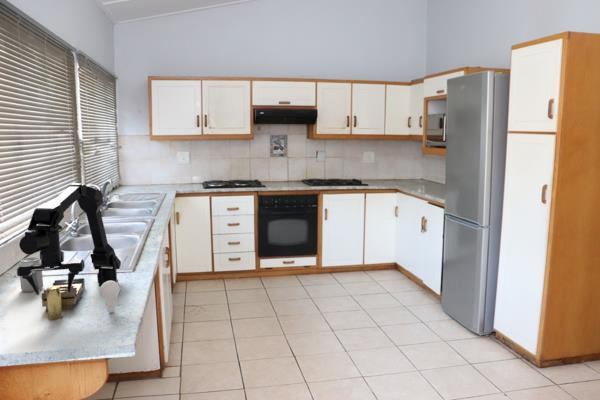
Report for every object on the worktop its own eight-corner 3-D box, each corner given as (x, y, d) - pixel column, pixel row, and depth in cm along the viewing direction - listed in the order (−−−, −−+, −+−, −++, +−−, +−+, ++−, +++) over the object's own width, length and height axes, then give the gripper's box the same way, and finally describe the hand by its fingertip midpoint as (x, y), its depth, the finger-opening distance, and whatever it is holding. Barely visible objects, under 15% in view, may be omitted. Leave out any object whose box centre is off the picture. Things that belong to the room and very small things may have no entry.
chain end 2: (85, 288, 190) (84, 277, 189) (78, 303, 174) (77, 291, 174) (56, 290, 187) (55, 279, 186) (46, 306, 172) (45, 293, 171)
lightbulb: (98, 312, 166) (96, 280, 164) (116, 307, 170) (114, 276, 168) (106, 317, 162) (104, 285, 160) (124, 312, 166) (122, 281, 164)
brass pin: (63, 315, 164) (61, 285, 162) (61, 319, 160) (58, 289, 158) (50, 316, 163) (47, 286, 161) (47, 320, 159) (45, 290, 157)
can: (47, 286, 192) (44, 256, 190) (37, 293, 185) (35, 261, 183) (27, 286, 192) (24, 256, 190) (17, 293, 184) (14, 261, 183)
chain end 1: (82, 293, 184) (81, 277, 183) (75, 309, 168) (74, 291, 167) (52, 296, 181) (51, 279, 180) (42, 312, 166) (41, 294, 165)
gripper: (85, 238, 168) (88, 282, 170) (24, 241, 163) (28, 287, 166) (80, 246, 157) (83, 293, 160) (14, 250, 152) (19, 299, 155)
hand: (53, 293), depth 160 cm, fingers open, 9 cm apart
